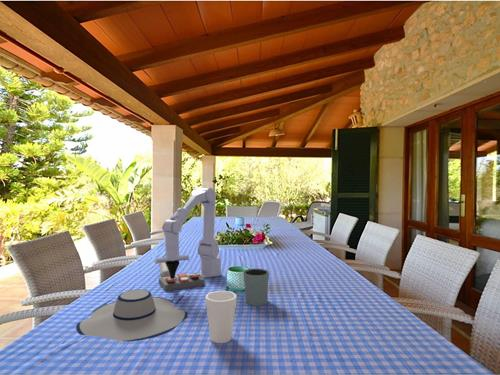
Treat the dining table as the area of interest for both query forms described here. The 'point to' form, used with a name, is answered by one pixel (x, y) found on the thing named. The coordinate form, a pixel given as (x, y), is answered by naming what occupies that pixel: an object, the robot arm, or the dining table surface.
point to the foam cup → (220, 315)
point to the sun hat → (133, 317)
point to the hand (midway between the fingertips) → (172, 277)
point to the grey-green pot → (256, 286)
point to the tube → (164, 270)
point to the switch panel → (178, 284)
